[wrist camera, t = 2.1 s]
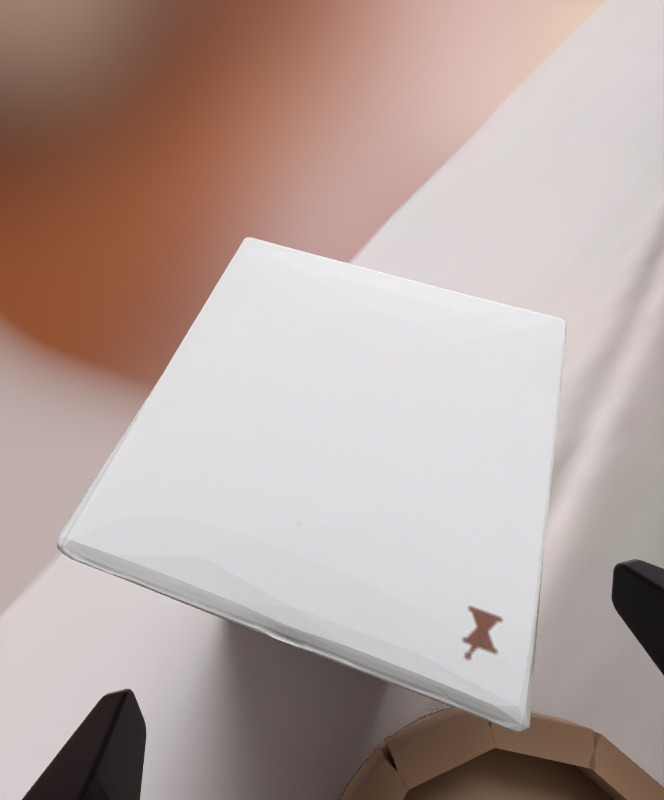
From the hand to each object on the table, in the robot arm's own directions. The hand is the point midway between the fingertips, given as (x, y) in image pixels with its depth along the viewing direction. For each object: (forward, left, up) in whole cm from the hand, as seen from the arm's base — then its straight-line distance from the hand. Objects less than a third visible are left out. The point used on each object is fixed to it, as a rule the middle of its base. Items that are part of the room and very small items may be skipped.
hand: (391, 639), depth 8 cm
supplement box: (+3, +1, -11) cm, 11 cm away
